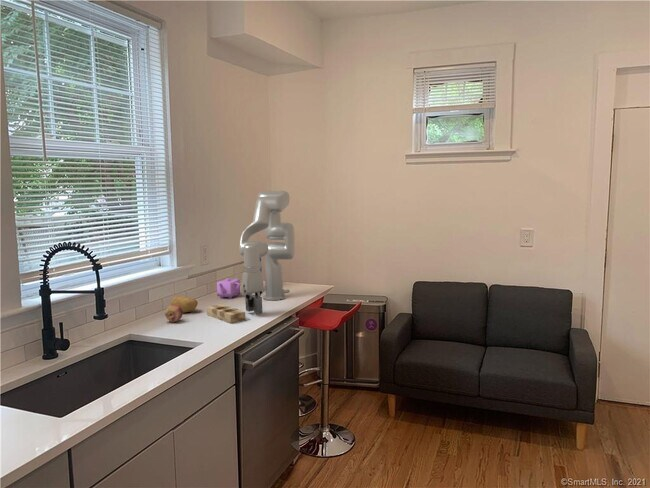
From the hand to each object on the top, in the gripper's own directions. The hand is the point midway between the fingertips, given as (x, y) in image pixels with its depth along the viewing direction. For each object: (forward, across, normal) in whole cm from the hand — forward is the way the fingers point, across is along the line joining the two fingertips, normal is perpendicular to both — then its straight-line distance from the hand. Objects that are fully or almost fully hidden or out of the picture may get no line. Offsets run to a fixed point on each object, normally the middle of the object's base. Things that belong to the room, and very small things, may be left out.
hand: (253, 305), depth 242 cm
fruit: (+4, +34, -16) cm, 38 cm away
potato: (+5, +22, -29) cm, 37 cm away
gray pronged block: (+3, 0, 0) cm, 3 cm away
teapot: (+6, -12, -43) cm, 45 cm away
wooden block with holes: (+4, +13, -5) cm, 14 cm away
